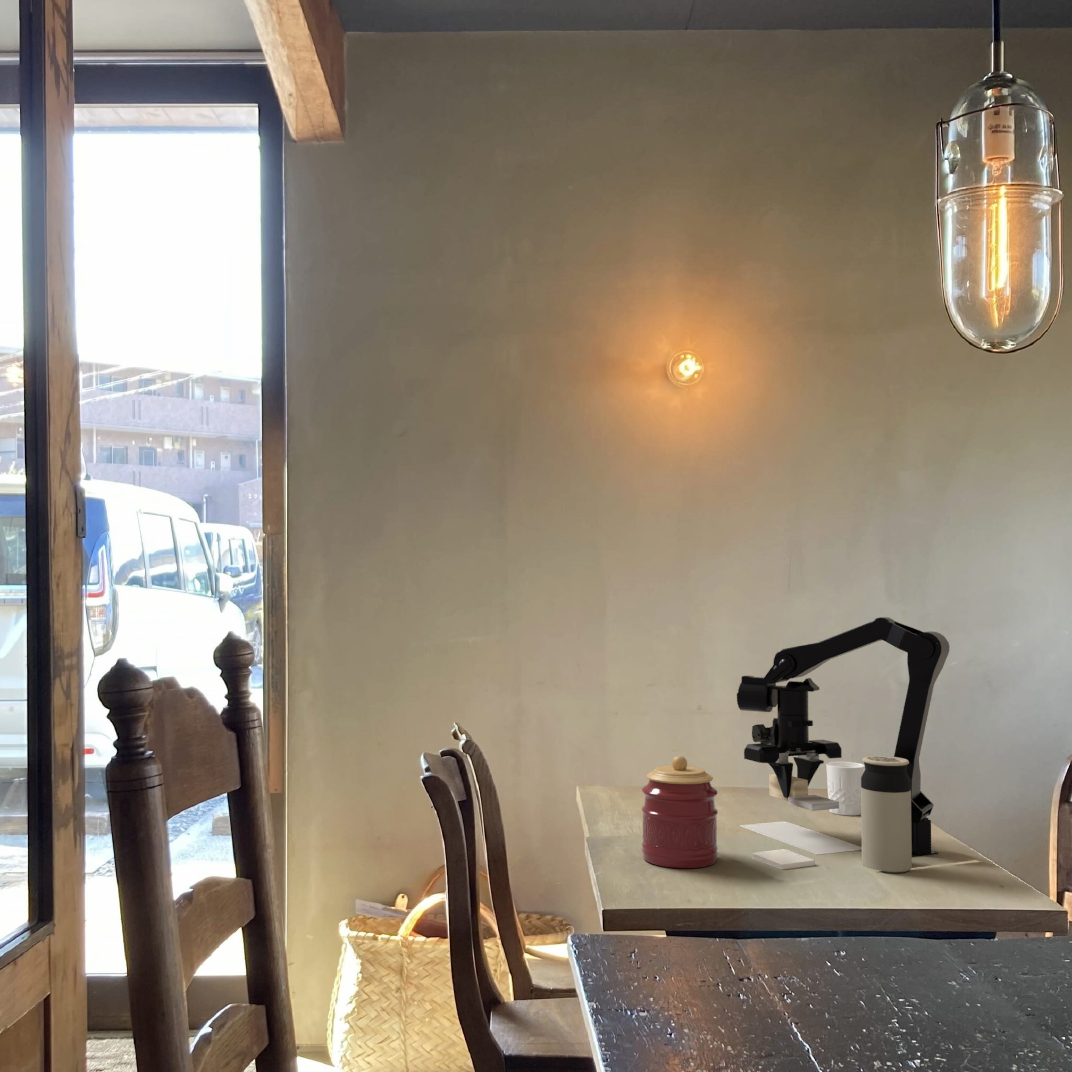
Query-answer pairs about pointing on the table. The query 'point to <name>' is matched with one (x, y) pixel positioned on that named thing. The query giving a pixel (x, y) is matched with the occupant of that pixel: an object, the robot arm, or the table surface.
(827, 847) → the mat
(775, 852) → the tile
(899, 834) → the travel mug
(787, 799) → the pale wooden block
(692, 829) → the canister
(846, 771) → the white cup
